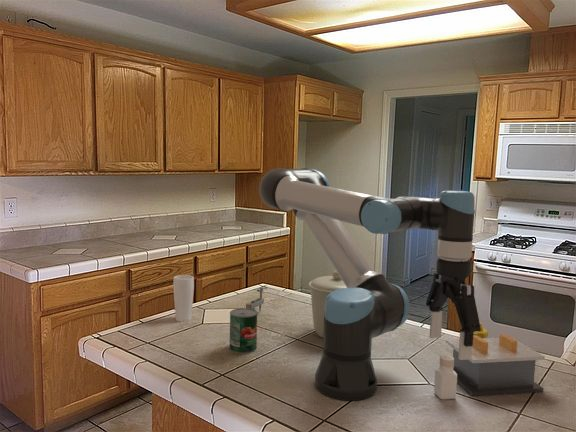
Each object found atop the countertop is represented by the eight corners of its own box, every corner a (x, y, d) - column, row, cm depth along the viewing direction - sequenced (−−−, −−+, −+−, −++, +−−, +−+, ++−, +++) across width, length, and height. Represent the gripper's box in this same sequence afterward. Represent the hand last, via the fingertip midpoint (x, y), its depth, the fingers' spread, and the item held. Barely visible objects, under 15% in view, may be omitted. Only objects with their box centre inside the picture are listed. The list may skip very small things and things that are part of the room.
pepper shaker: (456, 399, 111) (459, 360, 110) (440, 400, 111) (443, 361, 110) (448, 391, 115) (450, 353, 114) (432, 392, 114) (435, 354, 113)
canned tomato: (234, 342, 143) (235, 306, 142) (259, 345, 141) (260, 309, 140) (225, 352, 135) (226, 315, 134) (252, 355, 134) (253, 317, 132)
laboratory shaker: (472, 396, 113) (475, 350, 112) (442, 371, 127) (445, 330, 125) (543, 391, 116) (547, 347, 115) (507, 367, 130) (510, 327, 129)
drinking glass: (184, 315, 166) (184, 273, 164) (197, 320, 162) (198, 276, 161) (169, 320, 161) (169, 277, 159) (182, 325, 157) (182, 280, 155)
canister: (358, 349, 140) (361, 279, 138) (299, 340, 146) (301, 273, 143) (368, 330, 157) (371, 267, 155) (315, 322, 163) (317, 262, 160)
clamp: (250, 322, 160) (252, 292, 160) (244, 321, 161) (246, 291, 161) (267, 312, 175) (268, 285, 174) (261, 312, 175) (263, 285, 175)
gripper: (502, 269, 98) (495, 368, 100) (442, 248, 122) (438, 329, 124) (468, 270, 96) (463, 370, 98) (415, 249, 121) (411, 330, 123)
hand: (449, 347), depth 111 cm, fingers open, 13 cm apart
